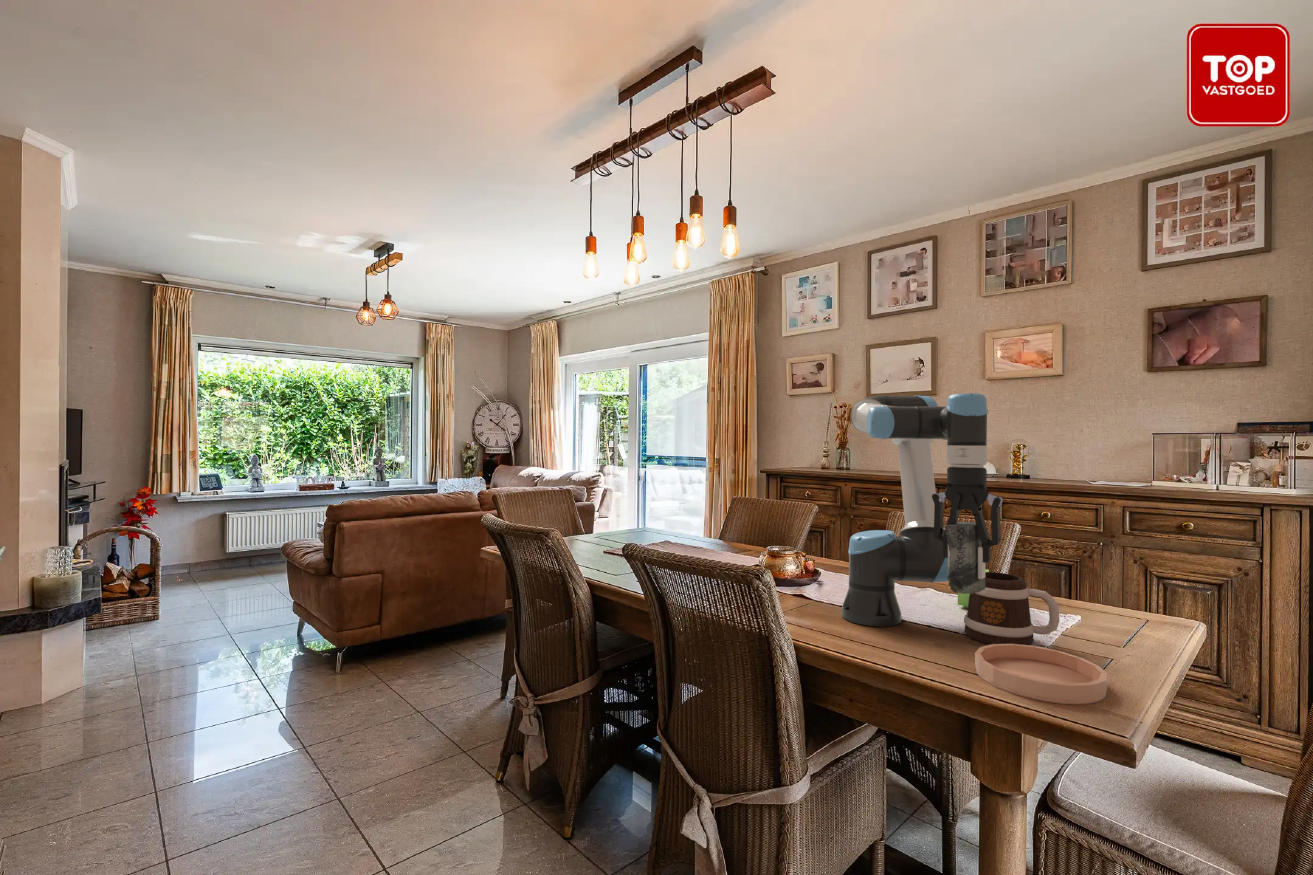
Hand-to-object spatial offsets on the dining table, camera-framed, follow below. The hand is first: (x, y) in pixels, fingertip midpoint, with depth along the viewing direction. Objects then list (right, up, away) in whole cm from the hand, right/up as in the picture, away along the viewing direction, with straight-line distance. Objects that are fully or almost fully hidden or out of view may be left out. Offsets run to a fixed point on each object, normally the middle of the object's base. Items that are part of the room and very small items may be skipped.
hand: (966, 575), depth 128 cm
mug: (+19, -20, +17) cm, 32 cm away
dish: (+11, -19, -7) cm, 23 cm away
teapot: (+27, -20, +45) cm, 56 cm away
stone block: (-2, -4, +1) cm, 4 cm away
